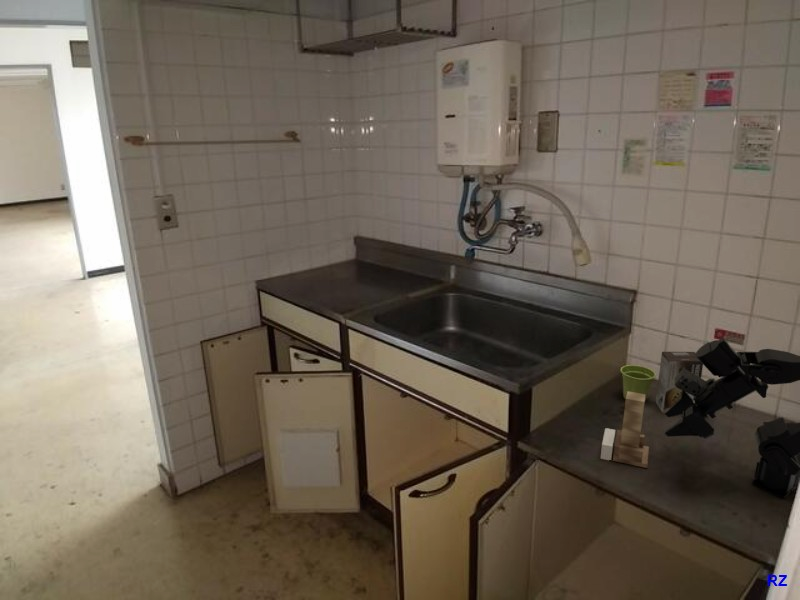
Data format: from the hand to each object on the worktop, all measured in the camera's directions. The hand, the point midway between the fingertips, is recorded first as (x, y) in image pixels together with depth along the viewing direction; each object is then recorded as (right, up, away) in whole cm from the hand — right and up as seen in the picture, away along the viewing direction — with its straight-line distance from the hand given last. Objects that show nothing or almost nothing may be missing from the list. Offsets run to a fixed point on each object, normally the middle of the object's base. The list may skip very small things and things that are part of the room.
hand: (666, 424), depth 129 cm
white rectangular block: (-11, -8, +8) cm, 16 cm away
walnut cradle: (-6, -9, +6) cm, 12 cm away
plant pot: (+7, 0, +33) cm, 34 cm away
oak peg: (-6, -8, +6) cm, 12 cm away
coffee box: (+16, -2, +28) cm, 32 cm away
